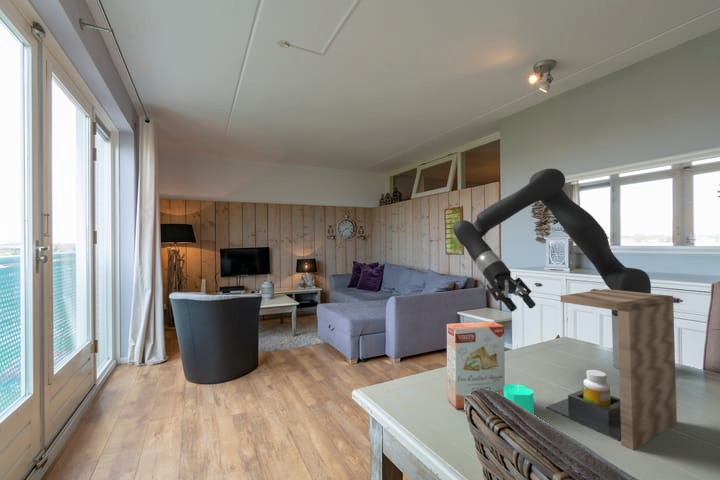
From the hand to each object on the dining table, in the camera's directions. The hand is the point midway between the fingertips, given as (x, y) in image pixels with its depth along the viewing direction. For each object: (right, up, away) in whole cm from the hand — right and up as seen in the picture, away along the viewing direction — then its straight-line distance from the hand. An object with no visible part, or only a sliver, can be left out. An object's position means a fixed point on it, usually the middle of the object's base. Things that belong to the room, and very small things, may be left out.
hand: (524, 308), depth 99 cm
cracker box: (-18, -23, -11) cm, 31 cm away
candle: (-14, -23, -27) cm, 38 cm away
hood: (+12, -22, -21) cm, 33 cm away
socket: (+9, -22, -18) cm, 30 cm away
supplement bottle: (+9, -22, -18) cm, 30 cm away
